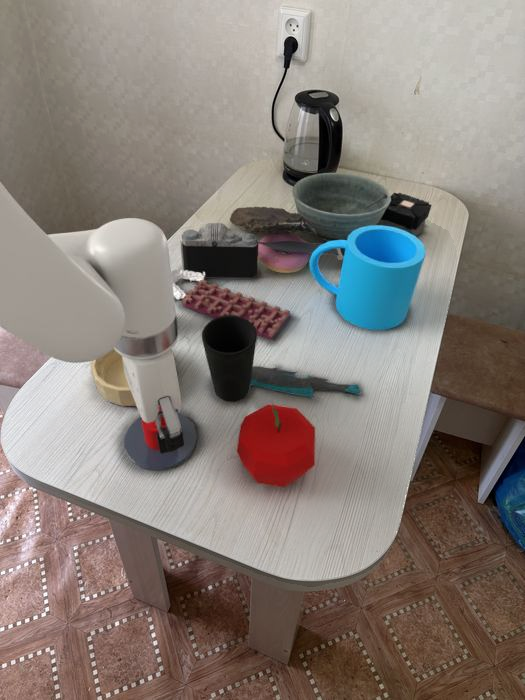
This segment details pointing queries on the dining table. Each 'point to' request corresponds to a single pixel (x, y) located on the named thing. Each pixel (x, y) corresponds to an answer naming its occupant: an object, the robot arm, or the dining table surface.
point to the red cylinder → (152, 432)
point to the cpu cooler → (406, 213)
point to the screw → (378, 200)
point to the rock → (270, 220)
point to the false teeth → (185, 274)
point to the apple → (276, 445)
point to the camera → (219, 252)
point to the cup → (230, 355)
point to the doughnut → (282, 254)
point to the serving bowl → (112, 379)
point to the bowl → (339, 203)
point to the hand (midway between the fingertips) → (160, 421)
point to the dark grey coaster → (153, 458)
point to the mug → (374, 275)
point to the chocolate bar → (236, 308)
